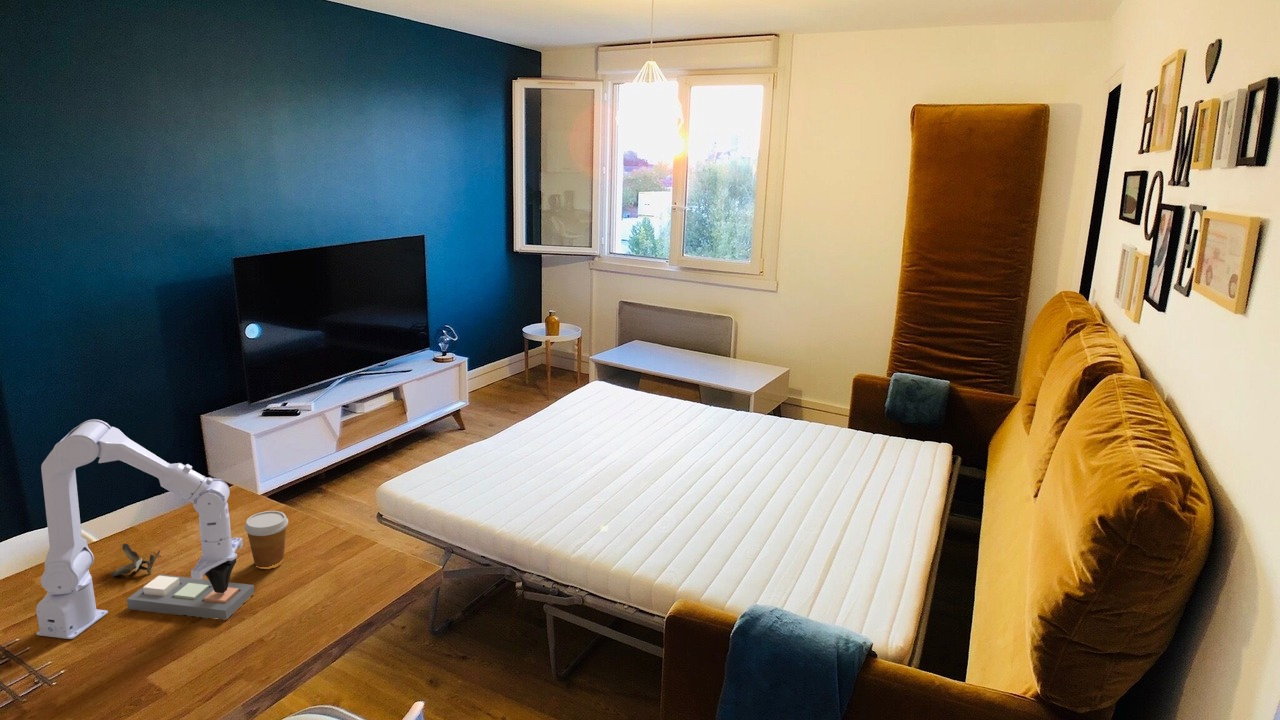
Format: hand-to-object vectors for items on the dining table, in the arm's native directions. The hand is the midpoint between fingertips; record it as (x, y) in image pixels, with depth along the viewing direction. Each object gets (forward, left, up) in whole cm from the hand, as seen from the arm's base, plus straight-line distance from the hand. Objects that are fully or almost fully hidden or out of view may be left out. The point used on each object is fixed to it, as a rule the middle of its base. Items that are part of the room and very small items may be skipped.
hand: (220, 591), depth 162 cm
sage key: (0, +7, -3) cm, 8 cm away
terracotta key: (0, 0, -3) cm, 3 cm away
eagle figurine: (+8, +27, -4) cm, 29 cm away
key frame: (0, +7, -4) cm, 8 cm away
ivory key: (0, +14, -2) cm, 14 cm away
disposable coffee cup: (+18, 0, -4) cm, 18 cm away
